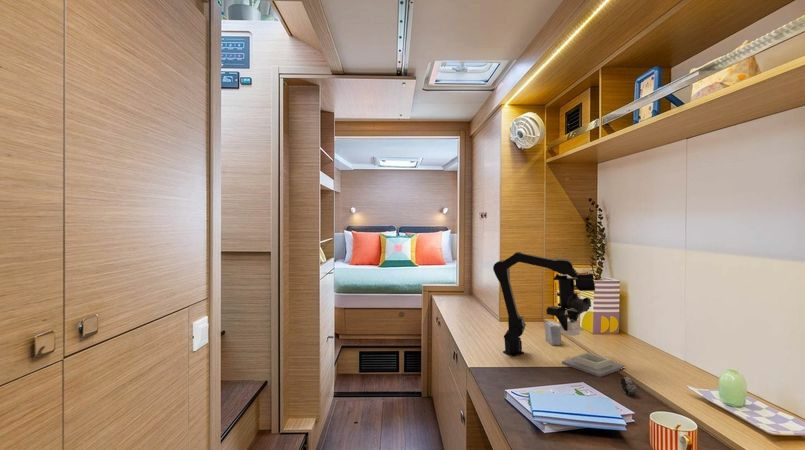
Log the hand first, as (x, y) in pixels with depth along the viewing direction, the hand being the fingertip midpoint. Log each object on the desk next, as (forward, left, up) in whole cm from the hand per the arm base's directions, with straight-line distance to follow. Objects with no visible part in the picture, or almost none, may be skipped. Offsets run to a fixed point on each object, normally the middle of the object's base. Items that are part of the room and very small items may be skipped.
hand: (569, 329), depth 153 cm
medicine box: (+10, +18, -12) cm, 23 cm away
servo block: (0, 0, -2) cm, 2 cm away
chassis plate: (-1, -10, -11) cm, 15 cm away
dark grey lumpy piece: (-12, -31, -12) cm, 36 cm away
